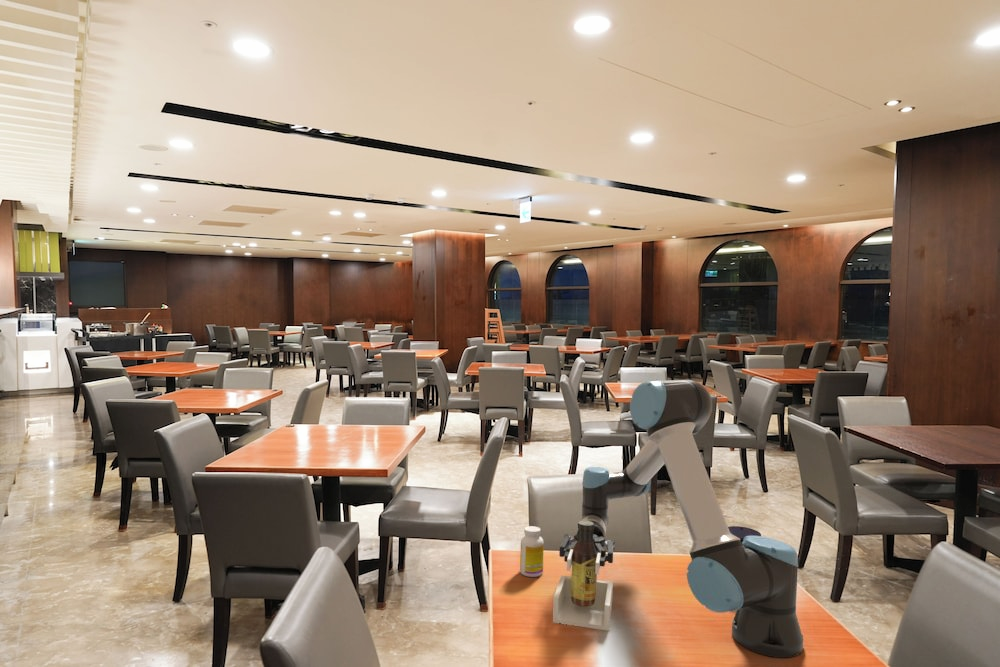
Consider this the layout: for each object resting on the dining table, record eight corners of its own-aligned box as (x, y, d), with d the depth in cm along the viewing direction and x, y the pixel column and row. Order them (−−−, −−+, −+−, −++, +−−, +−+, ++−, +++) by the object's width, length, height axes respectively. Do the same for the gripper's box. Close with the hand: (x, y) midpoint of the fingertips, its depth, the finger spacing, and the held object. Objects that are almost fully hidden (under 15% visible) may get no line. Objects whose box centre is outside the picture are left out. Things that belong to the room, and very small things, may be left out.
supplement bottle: (547, 574, 171) (548, 530, 171) (529, 579, 168) (530, 534, 167) (533, 566, 177) (534, 523, 176) (515, 571, 173) (516, 527, 173)
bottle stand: (560, 598, 157) (561, 575, 157) (612, 605, 154) (612, 582, 154) (552, 622, 144) (553, 598, 144) (609, 630, 141) (609, 605, 141)
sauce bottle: (588, 610, 145) (590, 529, 144) (565, 602, 148) (567, 523, 148) (600, 600, 150) (602, 522, 149) (579, 593, 154) (580, 517, 153)
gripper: (626, 550, 164) (622, 587, 141) (556, 542, 168) (543, 576, 146) (626, 523, 164) (623, 556, 141) (557, 516, 168) (543, 546, 146)
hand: (582, 566), depth 144 cm, fingers closed on sauce bottle, 6 cm apart
